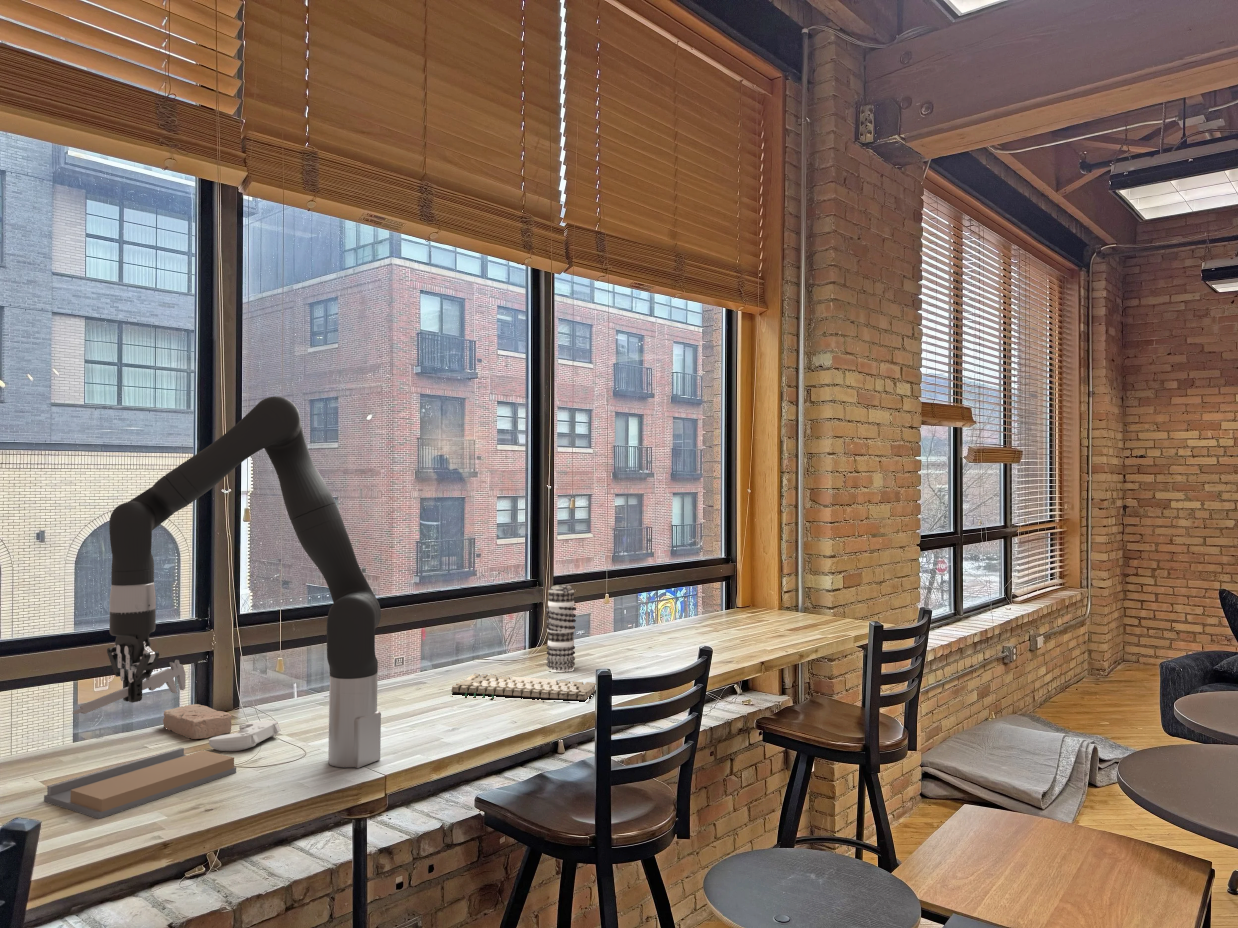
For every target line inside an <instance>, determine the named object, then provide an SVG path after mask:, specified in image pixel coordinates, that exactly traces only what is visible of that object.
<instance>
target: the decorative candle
mask: <svg viewBox="0 0 1238 928" xmlns="http://www.w3.org/2000/svg"><path fill="white" fill-rule="evenodd" d="M547 592H548V601H547V607H546V608H545V612H546V614H545V616H546V617H547V620H546V621H545V622H546V624H547V625H546V631H547V632H548V634H547V636H548V640H547V646H546V650H547V651H546V655H548V656H547V657H546V658H545V660H546V664H545V665H546V668H547V667H548V668H549V669H551V670H556V671H569V670H572V669H573V668H575V666H576V662H575V661H576V657H575V656H574V655H575V654H576V652H575V651H576V650H575V649H576V646H575V639H574V637H575V635H574V633H575V631H576V626H575V625H574V623H576V621H577V619H575V617H577V614H576V613H574V612H575V611H576V610H577V607H576V605H577V604H576V603H575V598H574V597H575V596H574V595H575V590H574V589H573V588H572V586H571V585H567V584H556V585H555V584H554V585H552V586H551V588H550V589H549V590H547Z"/></svg>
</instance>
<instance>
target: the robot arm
mask: <svg viewBox="0 0 1238 928" xmlns="http://www.w3.org/2000/svg"><path fill="white" fill-rule="evenodd" d="M308 447H309V446H308V445H307V442H306V439H305V434H304V430H303V425H302V419H301V413H300V411H299V409H298V407H297V406H296V404H295V403H294V402H293V401H291V400H289V399H288V398H285V397H283V396H269V397H266V398H264V399H262V400H261V401H259V402H257V404H256V405H255V406H253V408H251V410H250V411H249V412H247V414H246V415H245V416H244V417H242V418H241V420H239V421H238V422H237V423H236V424H235V425H234V426H232V427H231V428H230V429H229V430H227V432H225V433H224V434H223V435H222V436H220V437H219V438H217V439H216V440H215V441H214V442H212V443H211V444H209V445H207V446H206V447H205V448H204V449H202V450H201V451H199V452H197V453H196V454H195V455H193V456H191V457H190V458H188V459H187V460H185V461H183V462H182V463H181V464H180V465H178V466H176V467H175V468H173V469H172V470H170V471H168V472H167V473H166V474H165V475H163V476H162V477H160V478H159V479H158V480H157V481H156V482H155V483H154V484H153V485H152V486H151V487H149V488H148V489H146V490H145V491H143V492H141V493H140V494H138V495H137V496H136V497H133V498H132V499H131V500H129V501H126V502H124V503H120V504H119V505H118V506H116V507H115V508H114V509H113V510H112V511H111V514H110V516H109V525H108V527H109V528H108V529H109V540H110V541H109V542H110V550H111V557H112V558H111V573H110V575H111V578H110V579H111V583H110V584H111V586H110V593H109V634H110V635H111V636H113V637H115V641H114V644H115V645H113V647H107V649H106V653H107V656H108V659H109V662H110V665H111V667H112V670H113V672H114V673H113V674H114V676H115V677H116V678H117V677H118V678H120V679H119V680H120V681H121V682H122V689H123V688H126V687H128V696H127V697H125V698H122V700H123V701H124V702H129V703H138V702H140V701H142V699H143V690H142V681H143V680H146V678H149V677H150V676H151V675H153V674H152V673H153V671H154V669H155V666H156V664H157V662H158V659H159V657H160V652H159V651H158V650H155V651H153V650H152V648H151V644H152V643H151V640H150V634H151V633H153V632H155V630H156V620H157V619H156V614H157V613H156V611H157V610H156V609H157V607H156V601H157V599H156V597H157V596H156V594H157V593H156V588H155V561H154V556H153V554H152V548H153V547H152V546H153V545H152V541H153V540H152V538H153V537H152V535H153V531H154V530H155V529H156V528H157V527H159V526H160V525H161V524H163V523H164V522H165V521H167V520H168V519H169V518H170V517H172V516H173V515H174V514H176V513H177V512H179V511H180V510H182V509H184V508H186V507H187V506H189V505H190V504H193V502H195V501H196V500H198V499H199V498H201V497H202V496H204V494H207V492H209V491H210V490H211V489H213V488H214V487H215V486H216V485H218V484H219V483H220V482H221V481H222V480H223V479H224V478H226V477H227V475H228V474H230V473H231V472H232V471H233V470H234V469H235V468H237V467H238V466H239V465H240V464H241V463H243V462H244V461H246V460H247V459H248V458H250V457H251V456H253V455H254V454H257V452H260V451H262V450H263V449H264V450H265V453H266V454H267V456H268V458H269V460H270V461H271V464H272V465H273V468H274V470H275V472H276V475H277V477H278V478H277V479H278V482H279V485H280V486H279V487H280V489H281V494H282V498H283V502H284V505H285V508H286V511H287V514H288V515H287V516H288V518H289V520H290V524H292V525H291V526H292V528H293V530H294V533H295V535H296V537H297V539H298V542H299V544H300V545H301V547H302V548H303V550H304V551H305V553H306V554H307V556H308V557H309V558H310V561H312V562H313V563H314V565H315V566H316V568H317V569H318V570H319V572H320V573H321V575H322V577H323V578H324V580H325V582H326V585H327V588H328V590H329V592H330V596H331V599H332V603H333V604H331V606H330V607H329V610H328V613H327V618H326V658H327V663H328V666H329V667H328V668H329V684H328V686H329V690H328V691H329V692H328V693H329V695H328V698H329V701H328V751H327V752H328V755H327V757H328V760H327V762H328V764H329V765H330V766H333V767H336V768H357V769H359V768H361V767H365V766H367V765H369V764H372V763H375V762H376V761H380V760H381V750H382V749H381V747H382V746H381V743H382V742H381V741H382V740H381V737H382V736H381V735H382V733H381V732H382V731H381V730H382V713H381V712H380V711H378V685H379V683H378V681H379V680H378V678H379V677H378V675H379V674H378V672H379V671H378V670H379V662H378V658H377V656H376V649H375V648H376V641H375V640H376V637H375V636H376V628H378V626H379V624H380V621H381V618H382V609H381V606H380V603H379V600H378V599H377V597H376V595H375V593H374V591H373V590H372V588H371V586H370V585H369V582H368V580H367V579H366V577H365V575H364V573H363V572H362V569H361V567H360V565H359V562H358V560H357V556H356V553H355V551H354V547H353V545H352V542H351V540H350V539H351V538H350V536H349V534H348V532H347V529H346V526H345V523H344V520H343V518H342V515H341V512H340V511H339V508H338V506H337V504H336V501H335V499H334V497H333V495H332V492H331V491H330V489H329V486H328V485H327V483H326V481H325V480H324V478H323V477H322V475H321V474H320V472H319V470H318V469H317V467H316V465H315V464H314V461H313V459H312V457H311V454H310V451H309V448H308Z"/></svg>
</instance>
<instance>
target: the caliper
mask: <svg viewBox="0 0 1238 928" xmlns="http://www.w3.org/2000/svg"><path fill="white" fill-rule="evenodd" d="M169 666H170V668H165V669H163V670H161V671H158V672H155V673H153V674H151V676H150V677H149V678H146V679H144V680H143V681H142V691H144V690H148V691H152V692H153V691H154V690H157V689H161V688H162V687H163V686H164V685H165V684H166V686H167V688H168V689H169V691H170V693H172V694H177V693H178V691H177V686H176V685H177V684H176V682H175V678H176V680H177V683H178V686H179V691H184V690H186V672H185V671H186V670H185V668H184V664H180V659H175V660H174V662H173V661H169ZM127 696H128V687H126V688H123V687H122V688H121V689H118V690H116V691H113V692H111V693H109V694H106V695H103V696H100V697H98V698H95V699H93V700H91V701H88V702H85V703H83V704H79V708H78V709H75V710H73V712H72V714H74V715H79V714H83V715H84V714H85V715H86V714H88V713H91V712H93V711H96V710H98V709H100V708H103V707H105V706H107V705H109V704H113V703H114V702H115V703H116V702H117V701H119V700H123V698H125V697H127Z"/></svg>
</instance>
